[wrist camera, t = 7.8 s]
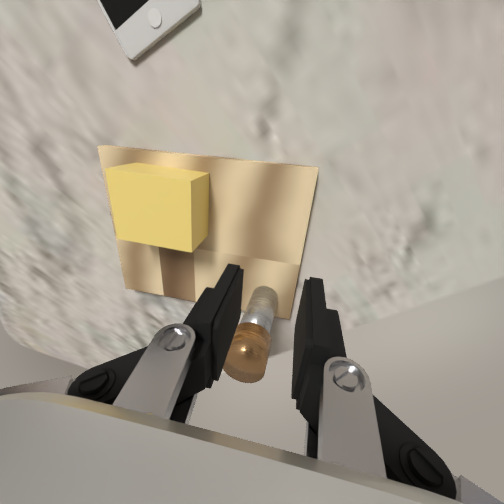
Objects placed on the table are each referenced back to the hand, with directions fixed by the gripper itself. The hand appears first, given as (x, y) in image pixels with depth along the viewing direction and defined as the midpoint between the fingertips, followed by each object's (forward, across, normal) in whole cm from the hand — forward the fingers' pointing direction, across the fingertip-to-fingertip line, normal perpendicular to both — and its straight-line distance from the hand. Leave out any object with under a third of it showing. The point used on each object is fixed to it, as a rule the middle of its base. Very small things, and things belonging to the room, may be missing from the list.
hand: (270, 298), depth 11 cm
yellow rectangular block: (+12, +11, 0) cm, 16 cm away
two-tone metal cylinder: (+12, +1, +9) cm, 15 cm away
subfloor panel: (+13, +8, +4) cm, 16 cm away
